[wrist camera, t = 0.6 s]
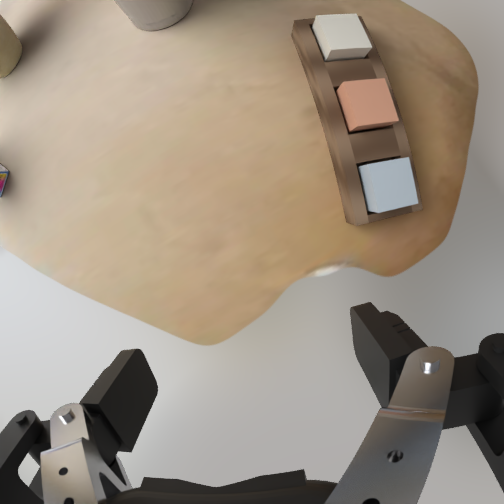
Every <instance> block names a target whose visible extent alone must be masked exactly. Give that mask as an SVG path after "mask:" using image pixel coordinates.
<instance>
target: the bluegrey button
mask: <svg viewBox="0 0 504 504" xmlns="http://www.w3.org/2000/svg"><path fill="white" fill-rule="evenodd" d="M357 168H358V172H359V177H360V181H361V185H362V190H363V194H364V199H365V203H366V208H367V211H371V212H376V213H380V212H384V211H389V210H393V209H397V208H401V207H405V206H410V205H414V204H418V199H417V193H416V188H415V183H414V178H413V173H412V169H411V164H410V160H409V157H406V158H400V159H394V160H389V161H383V162H378V163H372V164H367V165H363V166H359V167H357Z"/></svg>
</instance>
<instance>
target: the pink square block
mask: <svg viewBox="0 0 504 504" xmlns="http://www.w3.org/2000/svg"><path fill="white" fill-rule="evenodd" d="M335 93H336V96H337V99H338V102H339V105H340V108H341V111H342V114H343V117H344V121H345V124H346V127H347V131H348V133H349V132H355V131H362V130H368V129H375V128H382V127H387V126H389V125H391V124H393V123H395V122H397V121H399V119H398V116H397V113H396V109H395V106H394V103H393V100H392V97H391V94H390V91H389V89H388V86H387V83H386V80H385V78H380V79H366V80H355V81H346V82H343V83H342V84H341V85H340V87H339V88H338V89H337V91H336V92H335Z"/></svg>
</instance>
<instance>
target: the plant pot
mask: <svg viewBox="0 0 504 504" xmlns="http://www.w3.org/2000/svg"><path fill="white" fill-rule="evenodd" d="M21 54H22V45H21V43H20V41H19V39H18V38H17V36H16V34H15V33H14V31H13V30H12V29H11V27H10V26H9V25H8V23H7V22H6V21H5V20H4V18H3V17H2V16H1V15H0V78H3V77H5V76H7V75H8V74H9V73H10V72H11V71H12V70H13V69H14V68H15V66H16V65H17V63H18V61H19V59H20V57H21Z"/></svg>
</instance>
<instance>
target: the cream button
mask: <svg viewBox="0 0 504 504" xmlns="http://www.w3.org/2000/svg"><path fill="white" fill-rule="evenodd" d="M312 32H313V35H314V37H315V39H316V42H317V44H318V47H319V49H320V52H321V54H322V57H323V59H324V62H333V61H343V60H356V59H363V58H364V57H365V56H366V55H367V53H368V52H369V51H370V50H371V48H372V46H371V43H370V41H369V39H368V37H367V35H366V32H365V30H364V28H363V26H362V24H361V22H360V20H359V18H358V16H357V14H332V15H317V16H316V17H315V21H314V24H313V27H312Z"/></svg>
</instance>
